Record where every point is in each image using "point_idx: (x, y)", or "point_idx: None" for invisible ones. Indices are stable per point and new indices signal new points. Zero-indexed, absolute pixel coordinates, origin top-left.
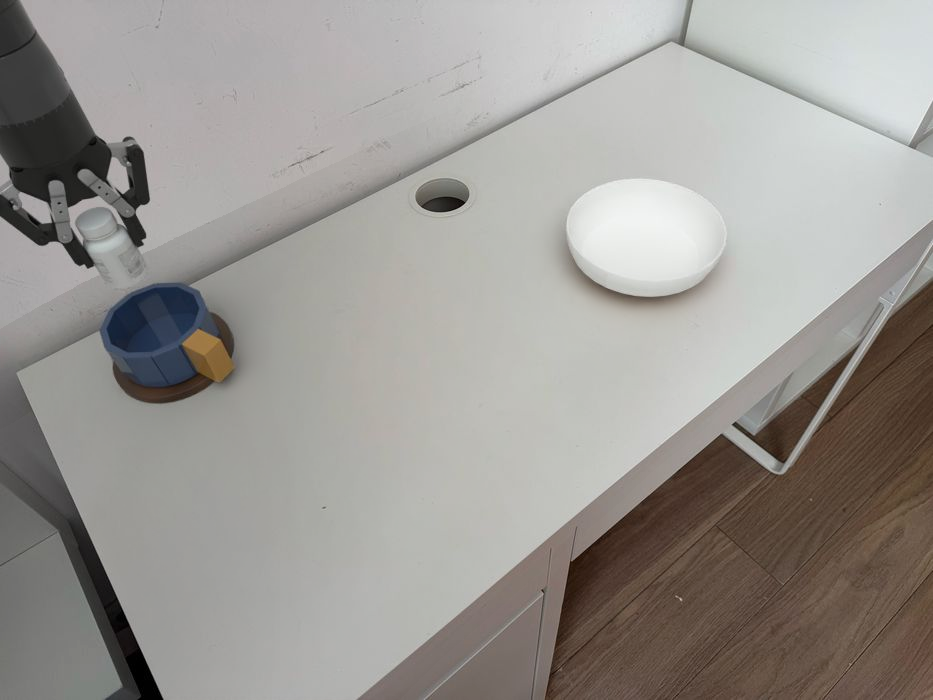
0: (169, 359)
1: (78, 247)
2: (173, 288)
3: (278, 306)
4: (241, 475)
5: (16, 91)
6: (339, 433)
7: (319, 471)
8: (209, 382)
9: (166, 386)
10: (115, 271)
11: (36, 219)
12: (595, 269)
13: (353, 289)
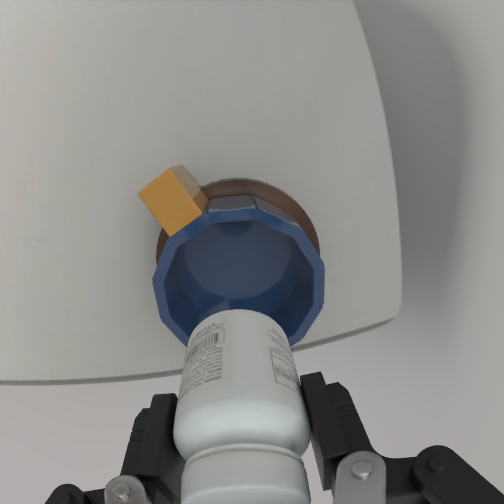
0: (232, 204)
1: (328, 432)
2: None
3: (99, 283)
4: (197, 31)
5: None
6: (79, 52)
7: (115, 12)
8: (201, 187)
9: None
10: (250, 344)
11: None
12: None
13: (23, 266)
